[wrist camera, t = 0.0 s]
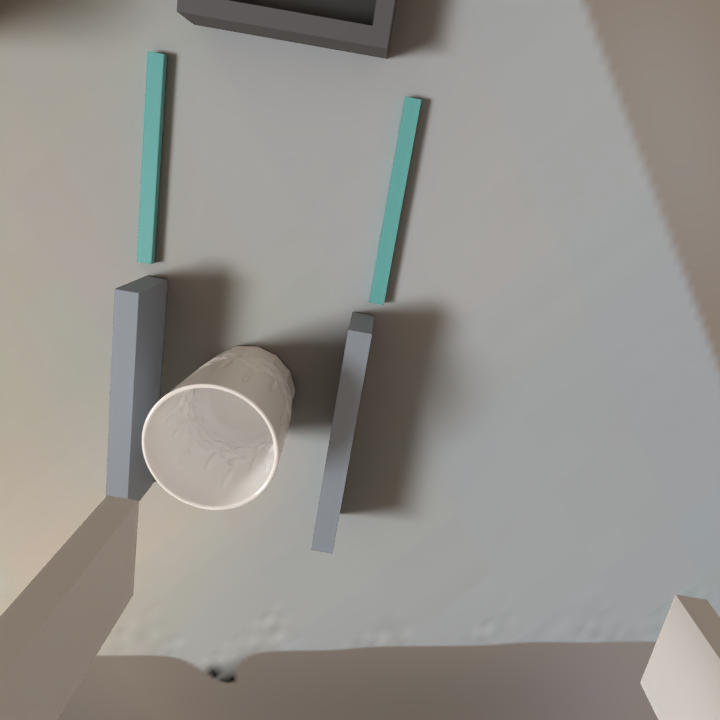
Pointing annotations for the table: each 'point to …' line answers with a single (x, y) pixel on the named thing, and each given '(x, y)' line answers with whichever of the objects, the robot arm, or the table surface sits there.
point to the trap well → (302, 21)
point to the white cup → (221, 429)
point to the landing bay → (153, 164)
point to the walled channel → (142, 391)
